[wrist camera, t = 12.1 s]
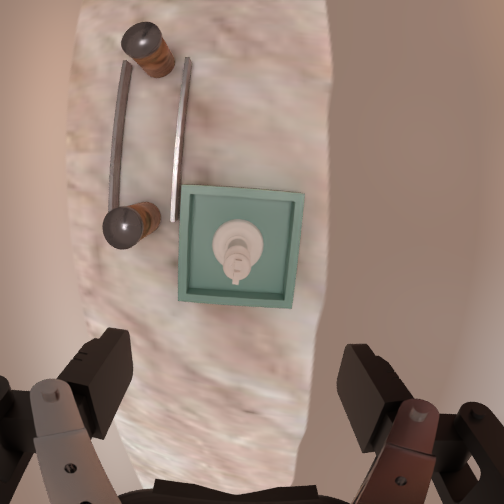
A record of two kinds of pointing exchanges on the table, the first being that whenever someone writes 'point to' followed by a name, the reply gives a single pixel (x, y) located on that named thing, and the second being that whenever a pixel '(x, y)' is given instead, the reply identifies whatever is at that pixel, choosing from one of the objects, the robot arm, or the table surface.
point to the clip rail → (155, 65)
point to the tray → (272, 258)
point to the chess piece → (237, 248)
